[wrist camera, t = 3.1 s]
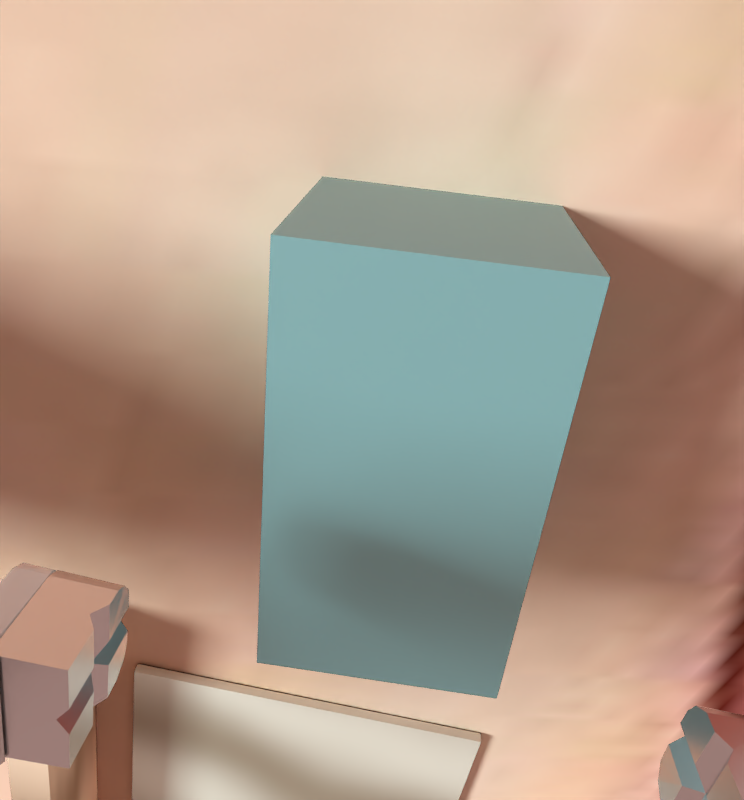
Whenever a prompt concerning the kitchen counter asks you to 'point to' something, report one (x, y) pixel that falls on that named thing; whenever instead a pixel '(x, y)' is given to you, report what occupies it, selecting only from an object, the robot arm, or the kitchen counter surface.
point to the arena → (261, 749)
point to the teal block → (414, 426)
